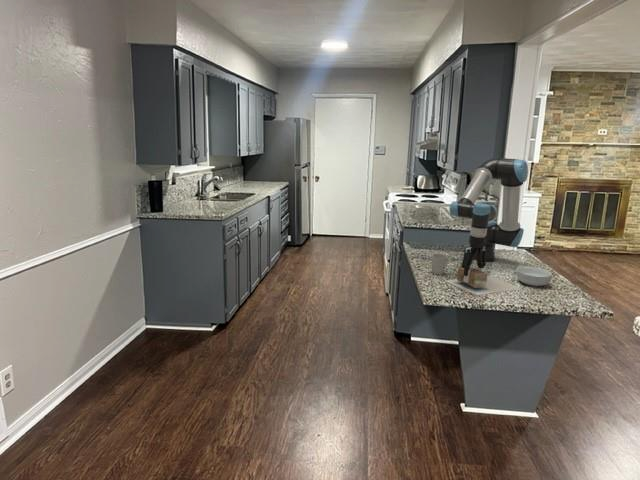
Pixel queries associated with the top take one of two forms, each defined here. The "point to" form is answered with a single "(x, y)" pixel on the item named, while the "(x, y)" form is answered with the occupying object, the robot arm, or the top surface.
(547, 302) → the top surface
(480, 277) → the block
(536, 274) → the cereal bowl
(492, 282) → the mat
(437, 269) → the cup
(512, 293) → the top surface
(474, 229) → the robot arm
